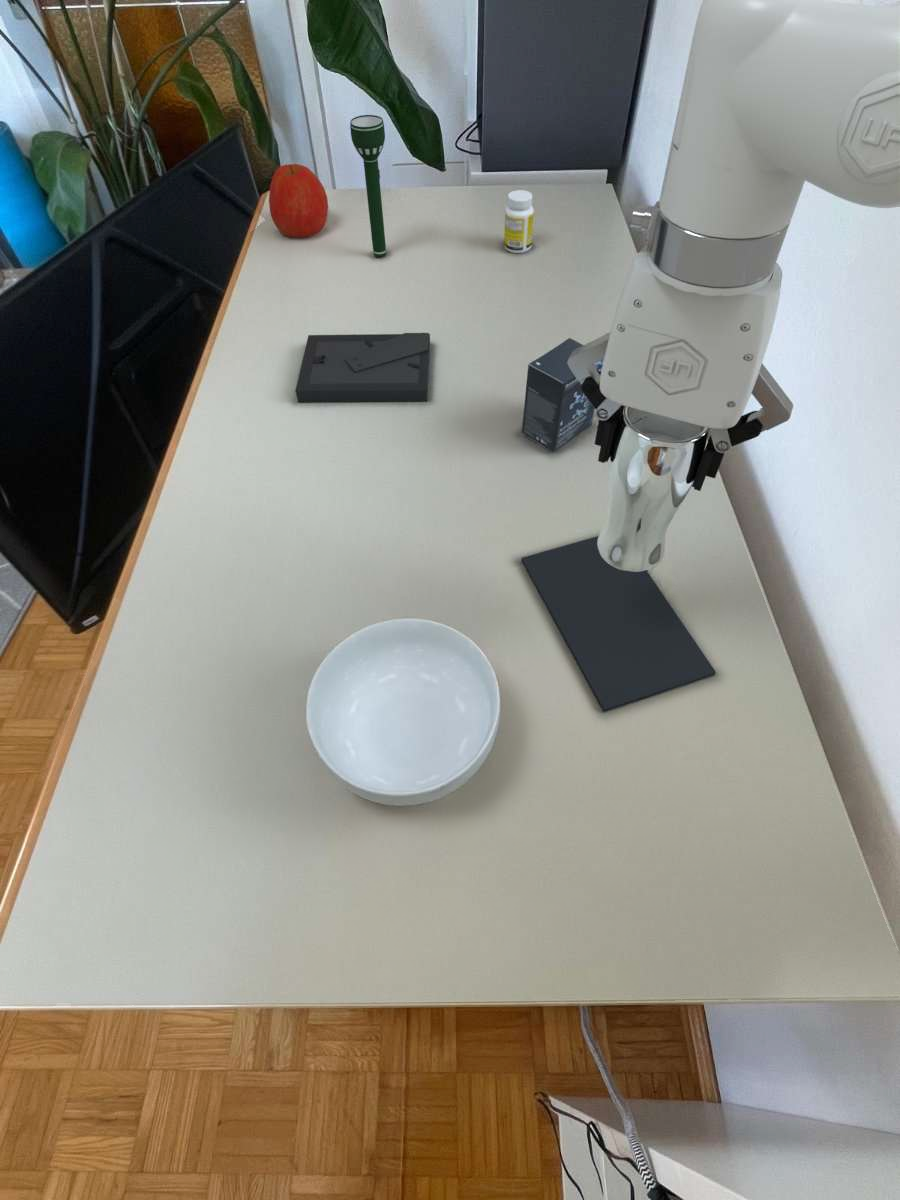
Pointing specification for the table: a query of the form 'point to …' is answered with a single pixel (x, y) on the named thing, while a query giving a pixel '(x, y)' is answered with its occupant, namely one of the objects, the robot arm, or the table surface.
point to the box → (555, 399)
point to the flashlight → (371, 172)
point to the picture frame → (365, 368)
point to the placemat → (615, 625)
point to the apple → (297, 201)
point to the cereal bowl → (403, 711)
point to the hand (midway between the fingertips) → (653, 464)
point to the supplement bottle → (518, 222)
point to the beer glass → (647, 486)
